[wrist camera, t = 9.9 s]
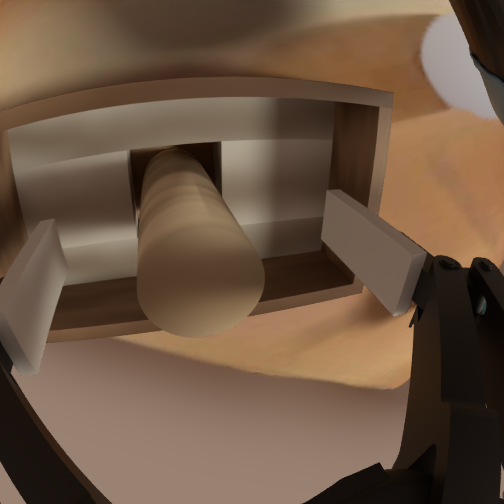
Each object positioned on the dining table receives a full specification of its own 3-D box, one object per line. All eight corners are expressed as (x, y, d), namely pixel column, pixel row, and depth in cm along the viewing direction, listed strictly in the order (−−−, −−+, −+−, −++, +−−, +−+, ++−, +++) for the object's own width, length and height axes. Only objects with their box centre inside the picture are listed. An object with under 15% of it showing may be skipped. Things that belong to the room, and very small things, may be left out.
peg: (140, 152, 21) (125, 238, 9) (202, 145, 22) (267, 221, 10) (146, 210, 23) (149, 344, 11) (204, 203, 24) (262, 326, 13)
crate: (11, 112, 16) (-46, 128, 9) (327, 85, 22) (393, 92, 16) (46, 279, 23) (22, 344, 16) (314, 243, 29) (361, 292, 22)
